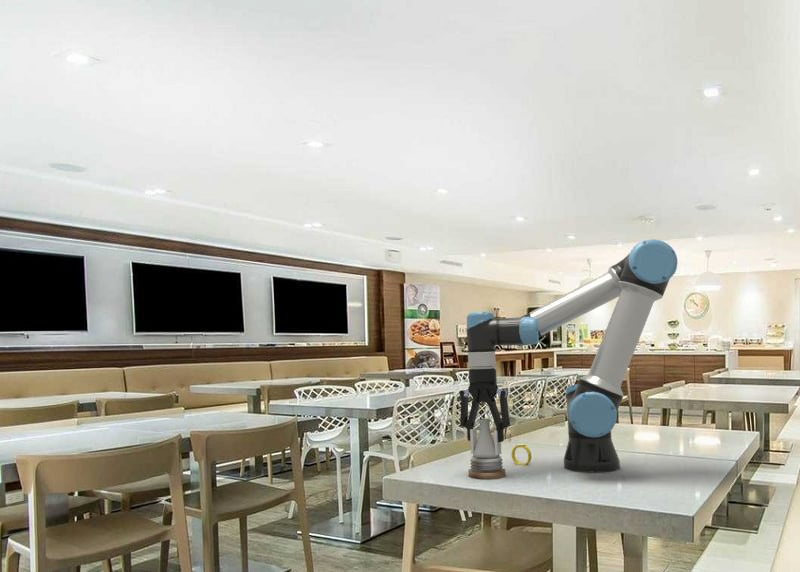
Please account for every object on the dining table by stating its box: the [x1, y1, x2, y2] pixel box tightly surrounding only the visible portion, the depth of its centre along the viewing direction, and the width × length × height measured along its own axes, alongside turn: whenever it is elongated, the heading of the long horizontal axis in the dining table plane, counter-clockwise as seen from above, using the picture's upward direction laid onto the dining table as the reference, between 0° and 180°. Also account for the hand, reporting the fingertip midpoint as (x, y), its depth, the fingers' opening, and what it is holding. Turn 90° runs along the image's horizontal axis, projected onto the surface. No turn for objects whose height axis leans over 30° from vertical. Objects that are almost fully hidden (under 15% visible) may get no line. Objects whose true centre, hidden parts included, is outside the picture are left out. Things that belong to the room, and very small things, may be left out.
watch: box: [511, 443, 532, 466], centre depth 191 cm, size 6×3×6 cm, turn 50°
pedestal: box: [467, 455, 507, 480], centre depth 175 cm, size 10×10×5 cm
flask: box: [472, 418, 501, 458], centre depth 176 cm, size 7×7×10 cm
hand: (486, 453), depth 176 cm, fingers closed on flask, 6 cm apart
